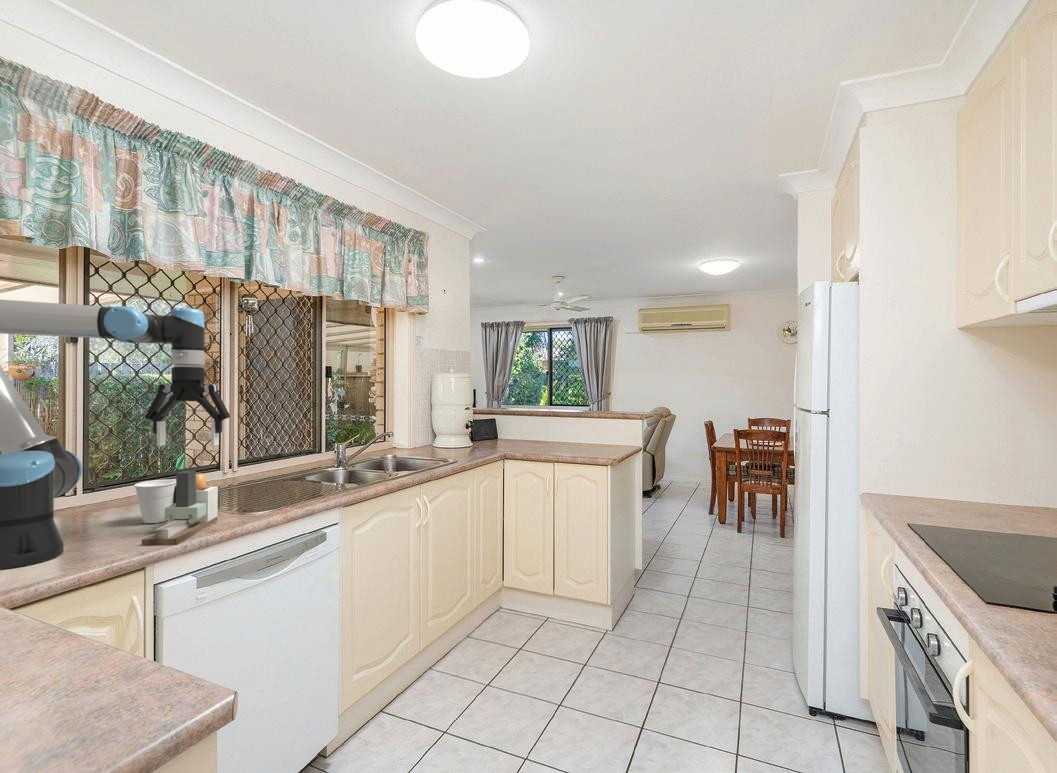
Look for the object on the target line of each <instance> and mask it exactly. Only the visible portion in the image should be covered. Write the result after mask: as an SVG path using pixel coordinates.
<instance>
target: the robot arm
mask: <svg viewBox="0 0 1057 773" xmlns="http://www.w3.org/2000/svg"><path fill="white" fill-rule="evenodd" d="M205 333H206V325H205V314H204V312H203V311H202V310H200V309H198V308H197V309H196V308H190V307H189V308H187V307H174V308H173V309H171V313H170V315H169V314H168V315H167V314H166V315H165V314H164V315H161V314H147V313H146V312H143V311H140V310H139V309H137V308H135V307H132V306H123V305H122V306H121V305H120V306H99V305H88V304H86V305H84V304H73V303H72V304H71V303H59V302H42V301H29V300H27V301H25V300H14V299H13V300H12V299H11V300H10V299H0V334H4V335H21V336H22V335H24V336H47V337H48V336H49V337H68V338H69V337H71V338H86V339H87V338H88V339H89V338H92V339H93V338H94V339H105V340H107V339H108V340H117V341H118V342H119V343H129V344H164V345H171V365H172V366H173V367H171V385H170V384H169V385H168V384H166V383H164V384H163V383H162V384H159V385H158V388H157V393H156V395H155V397H154V398H153V400H152V402H151V405H150V406H149V408H148V410H147V412H146V414H145V419H146V420H150V421H152V422H153V434H156V447H162V446H166V442H167V441H166V438H167V437H166V436H167V435H166V431H167V430H166V428H167V426H166V420H164V418H165V417H166V416H167V415H168V414H169V413H170V412H171V411H172V409H173V408H174V407H175V406H176V405H177V404H178V403H179V402H197V403H198V404H199V405H200V406H201V407H202V408H203V409H204V410H205V411H206V413H207V414H208V415H209V416H210V417H211V418H212V419H213V420H212V421H210V428H211V429H210V434H211V435H210V446H211V447H215V446H219V445H220V442H219V441H220V437H219V436H220V433H222V432H223V421H224V420H226V419H229V418H230V417H231V415H230V413H229V411H228V409H227V407H226V405H225V404H224V402H223V399H222V397H221V396H220V393H219V391H218V385H217V384H208V385H206V384H205V380H206V379H205V377H206V376H205V374H206V373H205V370H206V369H205V368H204V367H203V366H205V365H206V363H205V359H206V358H205V356H206V355H205V341H206V339H205V338H206V336H205V335H206V334H205ZM170 391H171V392H172V395H171V396H170V397H169V398H168V400H167V401H166V403H165V404H164V401H165V399H166V397H167V396H168V393H170ZM205 392H207V393H208V394H209V396H210V398H211V400H212V402H213V404H214V406H215V407H214V406H213V405H212V403H211V402H209V400H208V398H207V397H206V396H205V395H204V393H205ZM163 404H164V405H163ZM162 405H163V406H162ZM0 452H1V453H0V570H3V569H14V568H20V567H23V566H30V565H34V564H38V563H43V562H46V561H49V560H52V559H55V558H57V557H59V556H61V555H62V554H64V550H65V549H64V546H65V544H64V540H63V539H62V537H61V533H60V531H59V529H58V527H57V524H56V523H55V518H54V514H55V512H54V511H55V498H56V499H57V498H59V497H61V496H63V495H65V494H67V493H69V492H70V490H72V489H74V487H75V486H76V485H77V484H78V482H79V481H80V479H81V477H82V474H83V466H82V462H81V460H80V459H79V458H78V456H77V455H75V454H74V453H72V452H71V451H69V450H67V449H65V448H64V446H63V444H61V442H60V440H59V439H58V438H57V436H53V435H49V434H46V433H45V431H44V429H43V428H42V427H41V425H40V424H39V423H38V421H37V419H36V417H35V416H34V414H33V413H32V412H31V410H30V408H29V407H28V405H27V404H26V402H25V401H24V399H23V398H22V396H21V395H20V393H19V392H18V390H17V388H16V387H15V384H14V383H13V382H12V381H11V380H10V378H9V376H8V374H7V373H6V371H5V370H4V369H3V367H2V366H1V364H0Z"/></svg>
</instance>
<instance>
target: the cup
mask: <svg viewBox="0 0 1057 773" xmlns="http://www.w3.org/2000/svg"><path fill="white" fill-rule="evenodd" d="M175 486H176V479H155V480H147V481H142V482H138V483H135V484H134V487H135V492H136V495H137V500H138V504H139V509H140V512H141V517H142V522H143V523H144V524H146V523H156V524H160V523H159V522H162V523H164V521H165V522H168V521H169V519H165V508H166V507H168V506H171V505H173V495H174V489H175Z"/></svg>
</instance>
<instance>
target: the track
mask: <svg viewBox="0 0 1057 773" xmlns="http://www.w3.org/2000/svg"><path fill="white" fill-rule="evenodd" d="M217 520H218V516H217V517H215V518H214V519H212V520H210V521H208V522H198V521H196V522H194V523H188V519H177V520H175V521H173V522H170V521H169V523H166V524H165V525H162V526H160V527H158V528H156V529H155V530H154V533H152V534H150V535H147V536H146V537H143V538H142V539H141V546H142V545H145V546H175V545H176V546H177V545H178V544H181V543H182V542H184V541H186V540H188V539H190V538H192V537H194V534H195V535H196V533H197V532H198V533H200V532H201V530H202V529H204V528H205V529H207V528H208V527H207V526H209V525H210V524H212V523H214V522H215V521H217ZM214 524H215V523H214ZM212 525H213V524H212ZM206 527H207V528H206ZM209 527H210V526H209ZM205 529H204V530H205ZM199 531H200V532H199ZM202 531H203V530H202ZM198 533H197V534H198ZM187 538H188V539H187ZM185 539H186V540H185Z"/></svg>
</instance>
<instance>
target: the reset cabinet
mask: <svg viewBox="0 0 1057 773" xmlns="http://www.w3.org/2000/svg"><path fill="white" fill-rule="evenodd" d="M218 490H219V486H206V489H205V490H203V491H196V503H206V515H204V516H202V519H200V520H198V522H208V521H210V520H212V519H214V518H215V517H217V516H218V512H219V511H218V507H219V506H218V501H219V500H218V499H219V496H218V495H219V493H218Z"/></svg>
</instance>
